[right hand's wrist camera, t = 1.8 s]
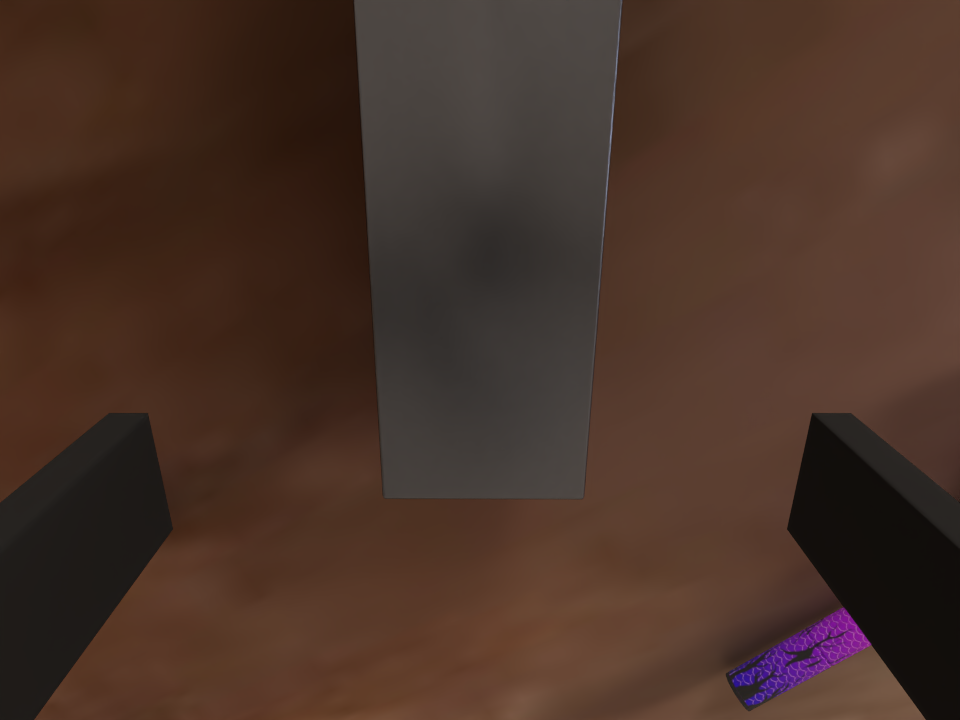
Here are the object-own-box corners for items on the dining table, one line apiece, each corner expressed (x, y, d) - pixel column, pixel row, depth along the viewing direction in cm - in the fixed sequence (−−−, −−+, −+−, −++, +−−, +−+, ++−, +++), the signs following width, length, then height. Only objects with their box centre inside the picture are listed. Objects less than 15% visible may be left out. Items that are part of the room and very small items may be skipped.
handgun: (1080, 326, 25) (1126, 342, 23) (1152, 455, 27) (1199, 479, 25) (655, 596, 30) (666, 626, 28) (743, 689, 32) (758, 723, 30)
